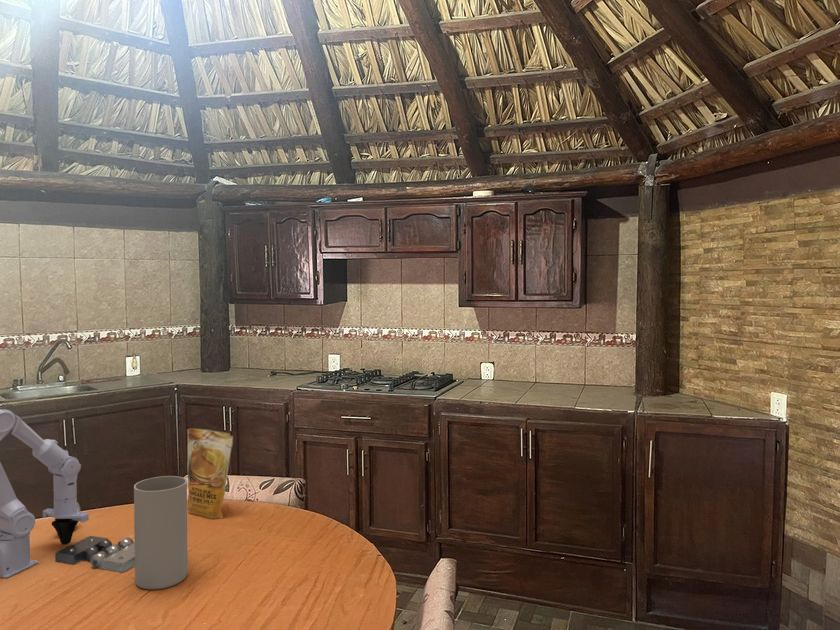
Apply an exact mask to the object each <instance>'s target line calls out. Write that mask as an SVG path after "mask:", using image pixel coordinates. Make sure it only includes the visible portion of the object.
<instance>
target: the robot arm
mask: <svg viewBox="0 0 840 630" xmlns="http://www.w3.org/2000/svg"><path fill="white" fill-rule="evenodd" d="M8 434H11V435H13V436H14V437H15V438H17V439H18V440H20V441H21V442H22V443H24V444H25V445H27V446H28V447H30V449H32V456H33V458H36V459H37V460H38V461H39V462H41V463H42V464H43V465H45V467H46V468H47V469H48V472H49V473H50V474H53V475H52V476H53V477H52V479H53V480H52V481H53V508H48V507H47V508H46V509H44V510H43V511H42V518H47V517H48V518H53V519H54V520H53V521H52V522H51V526H52V527H53V528H54V530H55V531H56V534H57V536H58V539H59V542H60V544H61V545H62V546H66V545H69V544H70V543H72V542H71V541H72V538H73V535H74V531H75V529H76V527H77V525H78V523H79V522H80V523H85V522H87V521H89V520H90V519H89V517H90V516H89V513H87V512H83V511H81V510H80V511H79V508H77V502H78V501H77V500H78V498H77V497H78V496H77V493H78V491H77V490H78V489H77V480H78V474H79V473H80V471H81V469H82V468H81V467H82V464H81V463H80V462H79V460H78V458H77V457H75V456H70V455H69V451H68V450H66V449H63V448H62V447H60V446H59V445H58V444H59V442H58V441H57V440H56V439H50V438H46V439H43V438H42V437H41V436H40V435H39V434H37V432H35V431H34V430H33V428H31V427H30V425H28V424H27V423H26V422H25V421H24V420H23V419H22V418H21V417H20V416H19V415H16V414H15V413H13V411H11V410H9V409H0V442H1V441H2V440H4V438H5V437H6V436H7V435H8ZM55 518H56V519H55ZM35 524H36V518H35V515H34V514H33V513H31V512H30V511H29V510H28V509H27V507H26V506H25V505H24V504H23V503H22V501H20V500H19V498H17V496H16V493H15V491H14V489H13V486H12V484H11V482H10V481H9V478H8V476H7V473H6V471H5V469H4V467H3V464H2V462H1V461H0V578H4V579H7V578H10V577H12V576H14V575H16V574H18V573H20V572H22V571H24V570H26V569H29V568H31V567H33V566H35V565H37V564H38V563H39V560H36V559H35V560H34V559H31V540H30V538H31V536H30V535H31V531H32V530H33V529H34V527H35Z"/></svg>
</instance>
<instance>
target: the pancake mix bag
mask: <svg viewBox="0 0 840 630" xmlns="http://www.w3.org/2000/svg"><path fill="white" fill-rule="evenodd" d="M186 437H187V441H186V444H187V447H186V448H187V449H186V450H187V454H186V455H187V456H186V458H187V465H186V468H187V491H188V494H187V511H188V513H189V514H190V515H193V516H197V517H201V518H205V519H209V520H218V519H223V517H224V516H223V510H222V509H223V504H224V499H225V494H226V485H227V479H228V473H229V468H230V461H231V456H232V455H231V454H232V450H233V446H234V436H233V434H231V433H230V432H226V431H220V430H219V431H217V430H212V429H204V428H195V427H190V428H188V429H186Z"/></svg>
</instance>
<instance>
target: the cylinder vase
mask: <svg viewBox="0 0 840 630" xmlns="http://www.w3.org/2000/svg"><path fill="white" fill-rule="evenodd" d="M133 508H134V509H133V515H134V517H133V518H134V520H133V521H134V524H133V525H134V539H133V540H134V543H135V566H134V583H135V585H136V586H138V587H139V588H141V589H144V590H151V591H152V590H153V591H154V590H162V589H165V588H170V587H173V586H175V585H178V584H179V583H181V582H183V580H184V579H185V578H186V577H188V576H187V575H188V572H189V571H188V569H189V568H188V565H189V564H188V510H187V508H188V479H187V478H185V477H183V476H176V475H163V476H156V477H150V478H146V479H143V480H140V481H138V482H136V483H135V484H134V485H133Z"/></svg>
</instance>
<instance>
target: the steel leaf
mask: <svg viewBox="0 0 840 630" xmlns="http://www.w3.org/2000/svg"><path fill="white" fill-rule="evenodd" d="M89 563H90V566H91V567H93V568H94V569H99V570H100V569H101V570H104V571H111V572H118V573H122V574H123V573H125V572H127V571H129V570H131V569H132V568H135V541H134V539H132V538H131V537H125V538H123V539H121V540H119V541H118V542H117V544H116V543H115V544H112V546H110V547H108V548H106V549H105V551H104V552H103V551H100V552H98V553H96V554H95V555H93V556H92V557H91V558H90V561H89Z"/></svg>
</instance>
